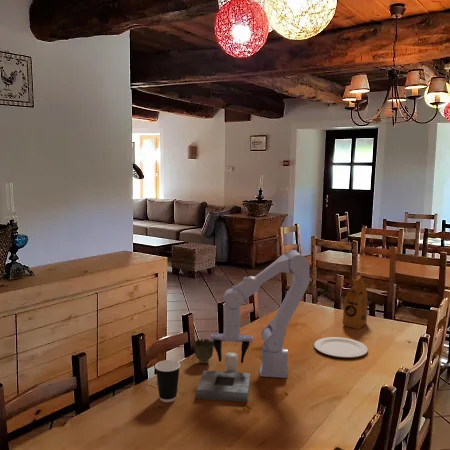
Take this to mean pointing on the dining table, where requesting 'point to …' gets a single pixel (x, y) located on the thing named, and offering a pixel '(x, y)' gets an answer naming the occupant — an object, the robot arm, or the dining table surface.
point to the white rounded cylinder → (231, 362)
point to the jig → (224, 386)
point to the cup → (203, 350)
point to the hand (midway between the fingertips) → (231, 361)
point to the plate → (341, 347)
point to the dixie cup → (167, 379)
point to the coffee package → (355, 305)
